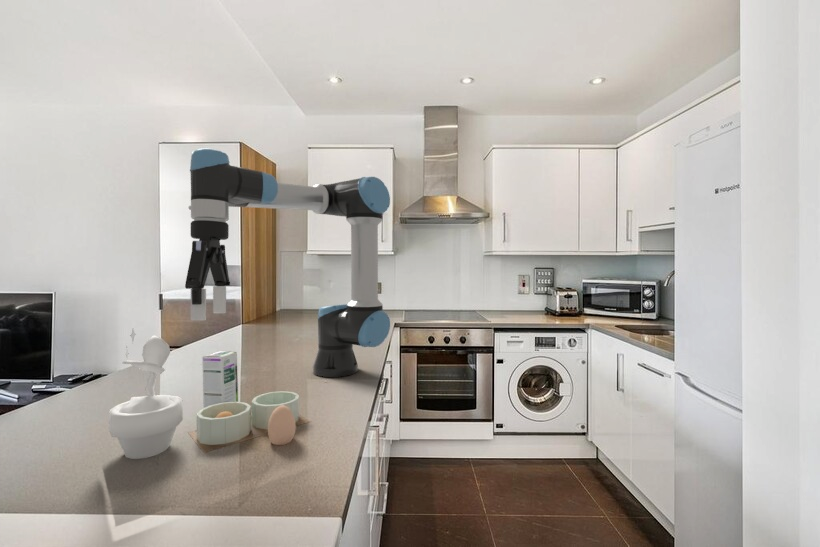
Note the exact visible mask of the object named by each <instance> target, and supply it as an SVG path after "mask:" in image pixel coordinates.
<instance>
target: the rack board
mask: <svg viewBox="0 0 820 547" xmlns="http://www.w3.org/2000/svg"><path fill="white" fill-rule="evenodd" d="M311 422H312V421H311V420H309V419H308V418H306V417H304V416H303V415H301V414H299V419H298V421H297V422H295V425H296V427H298V426H300V425H304V424H307V423H311ZM187 434H188V435H189V436H190V438H192V440H193V442H195V444H196V445H197V446H198V448H199V449H200V450H201V451H202V452H203V453H207V452H211V451H215V450H218V449H221V448H225V447H229V446H232V445H235V444H238V443H241V442H245V441H248V440H253V439H256V438H260V437H262V436H266V435H268V429H260V428H256V427H255V426H253V425H252V415H251V431H250V433H249V435H247V436H245V437H244V438H242V439H240V440H237V441H234V442H230V443H227V444H218V445H207V444H202V443H200V442H199V441H198V440H197V429H195V430H192V431H188V432H187Z"/></svg>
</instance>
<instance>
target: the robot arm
mask: <svg viewBox="0 0 820 547" xmlns="http://www.w3.org/2000/svg"><path fill="white" fill-rule="evenodd" d="M189 173H190V205H189V206H188V209H189V210H190V218H191V219H192V221H191V222H190V237H191V239H195V240H192V243H191V244H192V245H191V254H190V258H189V264H188V268H187V269H188V270H187V273H186V274H187V275H186V277H185V278H186V279H185V286H184V287H185V289H187V290H188V289H190V321H191V322H193V321H194V322H195V321H201V322H202V321H207V288H205V285H206V282H207V279H208V275H209V273H211V275H212V278H213V283H214V285H213V286H212V314H227V286H231V281H230V277H229V272H228V265H227V264H228V263H227V258H226V246H225V244H221V242H220V241H221V240H222V241H223V240H228V239H229V235H230V234H229V225H230V224H228V222H227V221H229V219H230V218H229V217H230V216H229V215H230V214H229V212H230V211H229V209H230V208H231V207H233V208H234V207H235V208H255V209H256V208H259V209H260V208H261V209H275V210H276V209H278V210H295V211H297V210H298V211H300V210H301V211H312V212H313V213H314V214H317V215H327V216H328V215H330V216H337V217H345V218H346V222H348V223H349V224H350V240H351V241H350V243H351V244H350V247H351V248H350V253H351V254H350V255H351V256H350V269H351V270H350V271H351V272H350V284H351V286H350V287H351V289H350V298H351V299H350V300H349V301H348V302H347V303H344V304H335V305H325V306H321V307H319V309H318V317H317V335H318V336H317V338H318V340H317V342H318V343H317V344H318V350H317V353H316V355H315V356H316V357H315V359H314V363H313V366H312V374H314V375H315V376H317V375H318V376H317V377H322V376H323V377H322V378H341V376H342V377H346V376H347V375H348V376H351V375H354V374H356V373H357V372H358V371H359V370H358V368H359V365H358V361H357V359H356V358H357V357H356V356H355V353H354V349H353V346H354V345H355V346H360V347H363V348H376V347H379V346H380V345H382V344H383V343H384V342H385V340H386V339H387V337H388V335H389V333H390V328H391V320H390V317H389V315H388V314H387V312H385V311H384V310H383V303H382V302H381V301H380V300H379V277H378V276H379V275H378V274H379V268H378V267H379V265H378V264H379V263H378V262H379V255H378V254H379V252H378V251H379V250H378V249H379V242H378V241H379V238H378V237H379V233H378V232H379V230H378V228H379V224H381V223H382V222H383V214H384V213H386V212H387V211H388V209H389V208H390V204H391V196H390V192H389V190H388V187H387V186H386V185H385V183H384V182H383V180H381V179H380V178H378V177H376V176H362V177H359V178H355V179H350V180H344V181H340V182H334V183H329V184H322V183H320V184H319V183H317V184H315V185H313V186H310V185H300V184H291V183H290V184H289V183H284V182H282V183H281V182H278V181H277V178H276V177H275V176H274V175H273V174H270V173H267V172H264V171H262V170H260V171H259V170H255V169H251V168H250V169H249V168H246V167H241V166H236V165H233V164H230V158H229V156H228V154H227V153H225V152H223V151H221V150H217V149H213V148H198V149H195V150H193V151H192V153H191V157H190V169H189ZM209 271H210V272H209Z"/></svg>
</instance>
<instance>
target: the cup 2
mask: <svg viewBox="0 0 820 547" xmlns="http://www.w3.org/2000/svg"><path fill="white" fill-rule="evenodd" d="M282 405H284V406H287V407H288V408H289V409H290V410H291V412H292V413H293V416H294V418H295V422H297V421H298V419H299V415H300V395H299V394H298V393H296V392H294V391H285V390H283V391H280V390H279V391H271V392H266V393H263V394H262V393H261V394H259V395H257V396H254V397H253V399H252V400H251V416H252V425H253V426H255V427H256V428H260V429H268V423H269V420H270V417H271V415H272V413H273V411H274V410H275V409H276V408H277V407H279V406H282Z"/></svg>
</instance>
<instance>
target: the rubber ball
mask: <svg viewBox="0 0 820 547" xmlns="http://www.w3.org/2000/svg"><path fill="white" fill-rule="evenodd" d="M232 415H233V414H232V413H231V412H228V411H224V412H221V413H219V414H218V415H217V416H216V418H222V417H228V416H232Z"/></svg>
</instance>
